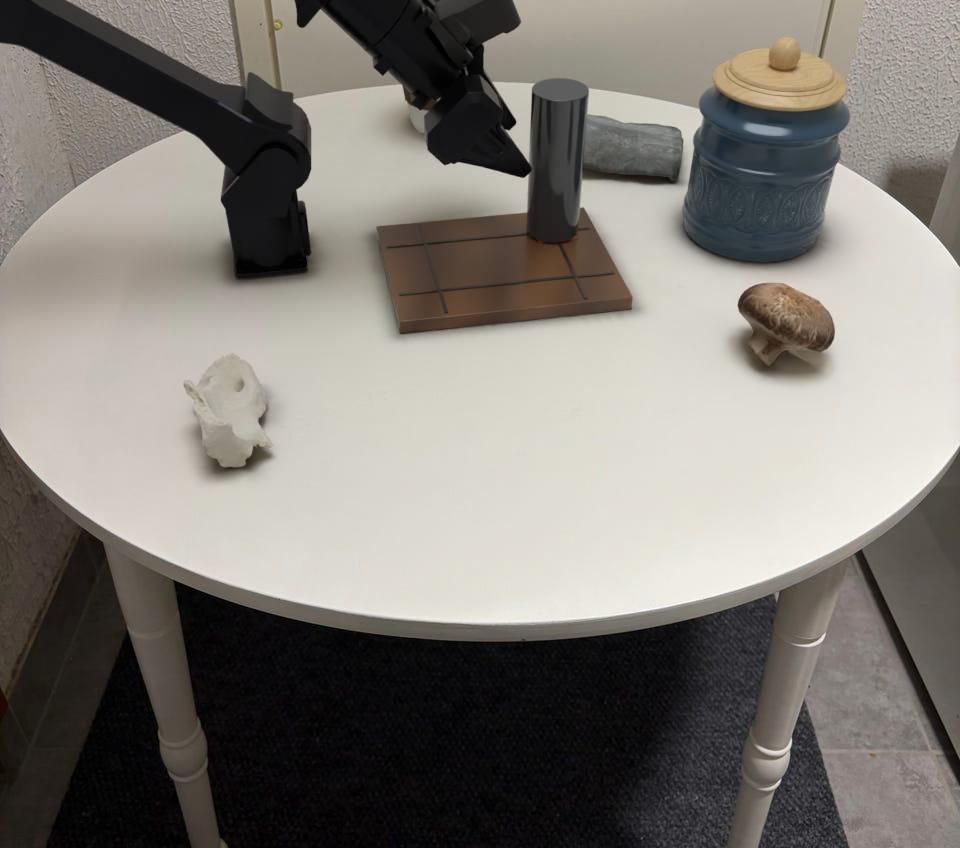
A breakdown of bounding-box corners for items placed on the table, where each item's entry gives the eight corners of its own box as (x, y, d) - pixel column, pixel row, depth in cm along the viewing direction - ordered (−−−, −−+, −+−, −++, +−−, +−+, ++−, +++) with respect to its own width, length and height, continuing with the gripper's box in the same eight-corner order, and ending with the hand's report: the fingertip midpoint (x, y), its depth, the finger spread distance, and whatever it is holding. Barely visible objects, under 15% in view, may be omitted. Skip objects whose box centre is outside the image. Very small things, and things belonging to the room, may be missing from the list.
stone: (529, 171, 107) (673, 201, 107) (536, 136, 104) (684, 167, 104) (541, 116, 114) (675, 144, 114) (548, 82, 111) (686, 110, 111)
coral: (260, 379, 82) (252, 332, 79) (283, 463, 75) (275, 414, 72) (188, 392, 81) (176, 344, 78) (203, 479, 74) (192, 430, 71)
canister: (694, 266, 95) (727, 69, 82) (669, 197, 104) (696, 11, 92) (835, 264, 95) (889, 68, 83) (798, 196, 104) (842, 10, 92)
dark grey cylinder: (572, 246, 94) (582, 104, 85) (520, 238, 95) (525, 97, 86) (583, 220, 98) (594, 81, 89) (533, 213, 99) (539, 75, 90)
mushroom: (747, 355, 79) (786, 278, 78) (700, 334, 86) (736, 264, 85) (826, 393, 82) (866, 319, 81) (775, 370, 89) (811, 302, 88)
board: (400, 333, 87) (399, 319, 86) (376, 237, 98) (375, 224, 97) (631, 309, 90) (633, 295, 89) (583, 218, 101) (584, 205, 100)
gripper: (472, -21, 72) (613, 129, 81) (447, -96, 85) (570, 39, 94) (365, 96, 77) (509, 226, 85) (357, 8, 90) (482, 128, 99)
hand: (520, 148), depth 91 cm, fingers open, 9 cm apart
